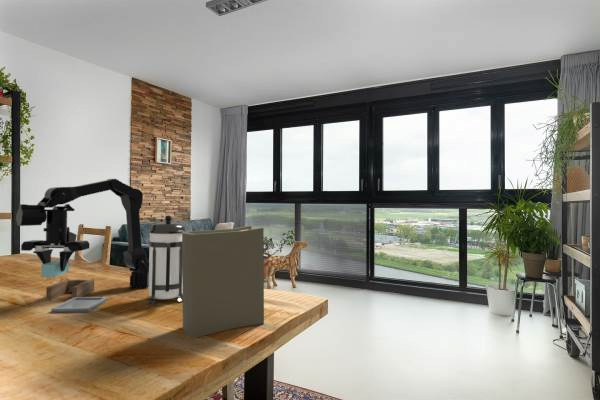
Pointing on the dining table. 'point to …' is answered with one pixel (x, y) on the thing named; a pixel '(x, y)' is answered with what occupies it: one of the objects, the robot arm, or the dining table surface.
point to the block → (53, 269)
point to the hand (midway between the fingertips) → (55, 271)
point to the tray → (80, 304)
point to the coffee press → (165, 261)
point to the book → (222, 279)
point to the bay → (70, 288)
